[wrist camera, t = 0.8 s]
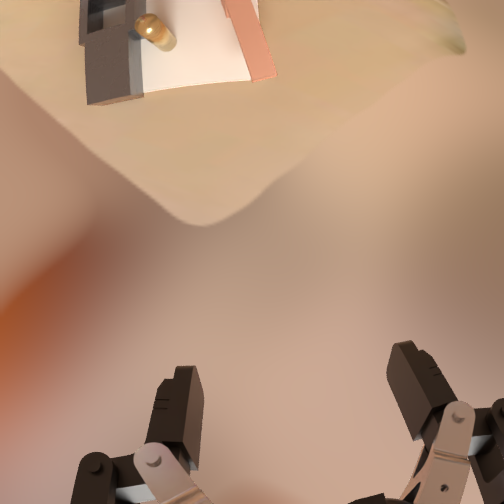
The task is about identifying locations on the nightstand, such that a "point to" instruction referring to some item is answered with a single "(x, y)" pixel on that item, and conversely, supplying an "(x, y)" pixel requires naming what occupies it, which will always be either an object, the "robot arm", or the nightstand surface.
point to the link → (111, 52)
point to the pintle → (155, 32)
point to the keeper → (250, 38)
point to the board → (189, 45)
